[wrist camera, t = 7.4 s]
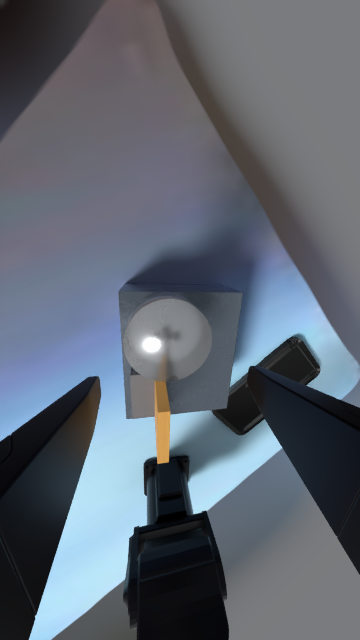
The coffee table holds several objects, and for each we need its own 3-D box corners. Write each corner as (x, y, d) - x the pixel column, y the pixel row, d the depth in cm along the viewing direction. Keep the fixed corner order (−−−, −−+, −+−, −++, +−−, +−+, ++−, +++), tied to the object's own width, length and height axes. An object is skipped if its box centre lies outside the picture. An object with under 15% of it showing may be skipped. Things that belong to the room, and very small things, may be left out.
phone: (323, 371, 26) (240, 438, 27) (316, 367, 27) (237, 431, 28) (298, 335, 23) (208, 410, 25) (292, 331, 24) (206, 404, 26)
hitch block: (210, 379, 24) (226, 408, 19) (130, 385, 22) (126, 418, 18) (220, 284, 20) (243, 292, 16) (125, 283, 19) (118, 291, 14)
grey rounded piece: (188, 340, 21) (208, 378, 14) (132, 342, 20) (125, 384, 13) (191, 285, 19) (216, 300, 12) (129, 284, 18) (120, 300, 11)
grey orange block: (162, 408, 18) (169, 462, 13) (132, 411, 17) (127, 468, 13) (163, 368, 17) (170, 411, 12) (130, 370, 16) (124, 416, 11)
